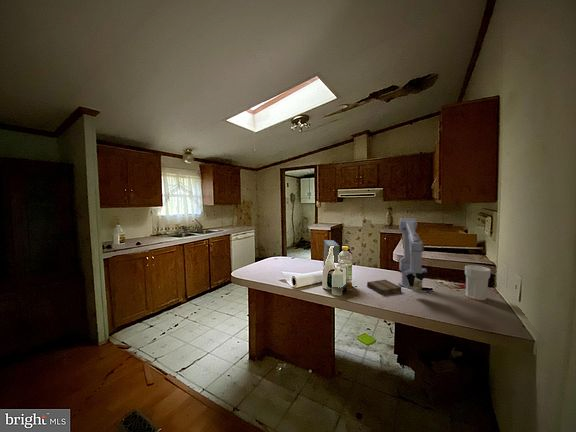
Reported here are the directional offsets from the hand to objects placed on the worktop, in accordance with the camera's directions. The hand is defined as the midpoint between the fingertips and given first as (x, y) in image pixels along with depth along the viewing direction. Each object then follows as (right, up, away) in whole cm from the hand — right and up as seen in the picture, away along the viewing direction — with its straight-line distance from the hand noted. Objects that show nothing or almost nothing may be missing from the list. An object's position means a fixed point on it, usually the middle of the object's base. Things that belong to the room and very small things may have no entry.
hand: (414, 285), depth 133 cm
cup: (+34, -7, -1) cm, 35 cm away
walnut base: (-13, -6, +12) cm, 19 cm away
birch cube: (0, -2, 0) cm, 2 cm away
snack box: (-42, -5, +34) cm, 55 cm away
